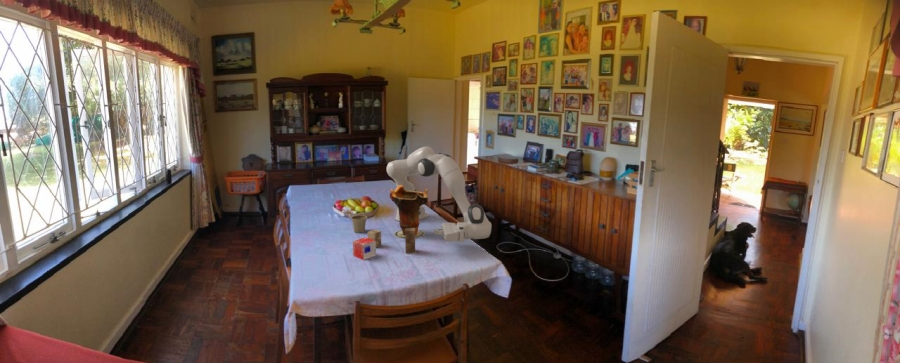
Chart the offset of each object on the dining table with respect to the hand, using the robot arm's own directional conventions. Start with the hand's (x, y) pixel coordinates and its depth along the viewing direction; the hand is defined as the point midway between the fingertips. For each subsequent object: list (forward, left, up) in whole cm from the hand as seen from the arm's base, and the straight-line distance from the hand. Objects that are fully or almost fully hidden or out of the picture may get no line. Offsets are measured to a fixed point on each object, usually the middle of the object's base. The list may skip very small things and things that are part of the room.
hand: (434, 231), depth 222 cm
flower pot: (+9, -54, -11) cm, 56 cm away
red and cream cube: (+29, -20, -11) cm, 37 cm away
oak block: (+17, -28, -11) cm, 35 cm away
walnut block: (+9, -8, -11) cm, 16 cm away
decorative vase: (-9, -30, -11) cm, 33 cm away
